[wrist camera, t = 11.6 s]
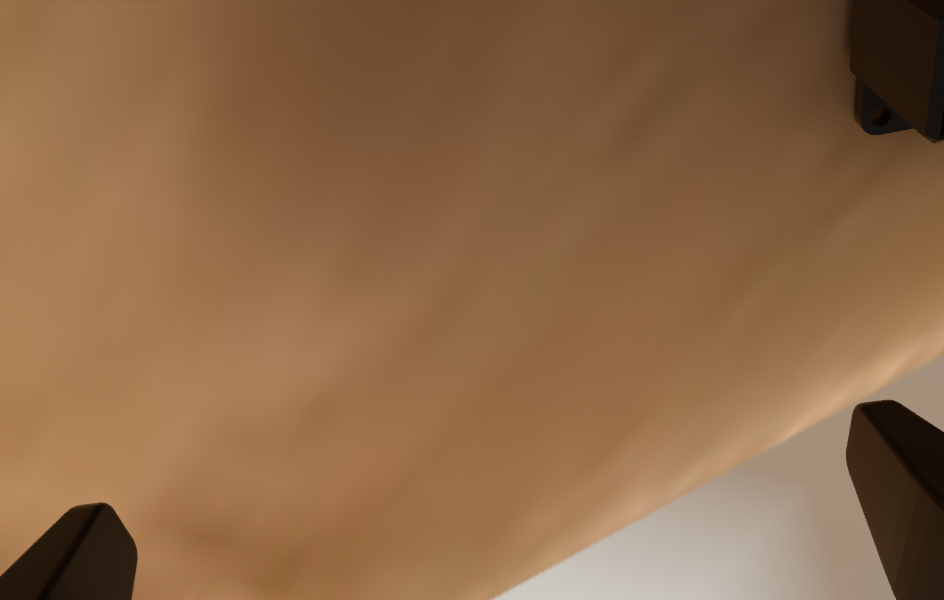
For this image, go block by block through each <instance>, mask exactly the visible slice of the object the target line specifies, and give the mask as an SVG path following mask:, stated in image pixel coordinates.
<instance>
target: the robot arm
mask: <svg viewBox="0 0 944 600" xmlns="http://www.w3.org/2000/svg"><path fill="white" fill-rule="evenodd" d="M850 70H851V72H852V73H853V74H855V75H856V76H857V77H858V80H857V93H856V105H855V120H856V122H857V123H858V125H859V126H860V127H861V128H862V129H863V130H864V131H865V132H866V133H868V134H871V135H882V134H887V133H892V132H897V131H902V130H908V129H913V128H914V129H916V130H917V131H918V132H919V133H920V134H921V135H922V136H924V137H925V138H926V139H927V140H929V141H930V142H932V143H934V144H935V143H940V142H944V0H854V14H853V28H852V42H851V56H850ZM880 108H885V110H884V113H883V114H882V115H881V116H880V117H879V118H877V119H875V120H871V117H872V115H873V113H874V112H875V111H876V110H878V109H880ZM846 462H847V467H848V471H849V474H850V476H851V479H852V482H853V485H854V488H855V490H856V493H857V496H858V498H859V501H860V504H861V507H862V510H863V513H864V515H865V518H866V521H867V524H868V526H869V529H870V532H871V535H872V537H873V540H874V543H875V545H876V548H877V551H878V554H879V557H880V560H881V562H882V565H883V568H884V571H885V573H886V576H887V578H888V581H889V584H890V586H891V589H892V591H893V593H894V596H895V598H896V600H944V432H943V431H941V430H940V429H938V428H937V427H935V426H933V425H932V424H930V423H929V422H927V421H926V420H924V419H923V418H921V417H920V416H918V415H916V414H915V413H914V412H912V411H911V410H909V409H908V408H906V407H905V406H903V405H902V404H900V403H898V402H896V401H893V400H881V401H873V402H865V403H860V404H858V405H857V406H856V407H855V408H854V410H853V414H852V419H851V425H850V431H849V437H848V442H847V448H846ZM136 567H137V548H136V545H135V542H134V540H133V538H132V537H131V535H130V534H129V532H128V531H127V529H126V528H125V526H124V524H123V523H122V521H121V520H120V518H119V517H118V515H117V514H116V512H115V511H114V509H113V508H112V507H111V506H110V505H108V504H107V503H102V502H100V503H93V504H85V505H78V506H75V507H73V508H71V509H69V510H68V511H67V512H66V513H65V514H64V515H63V516H62V517H61V518H60V519H59V520H58V521H57V522H56V523H55V524H53V525H52V526H51V527H50V528H49V529H48V530H47V531H46V532H45V533H44V534H43V535H42V536H41V537H40V538H39V539H38V540H37V541H36V542H35V543H34V544H33V545H32V546H31V547H30V548H29V549H28V550H27V551H26V552H25V553H24V554H23V555H22V556H21V557H20V558H19V559H18V560H17V561H15V562H14V563H13V564H12V565H11V566H10V567H9V568H8V569H7V570H6V571H5V572H4V573H3V574H2V575H1V576H0V600H132V594H133V587H134V580H135V573H136Z"/></svg>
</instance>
